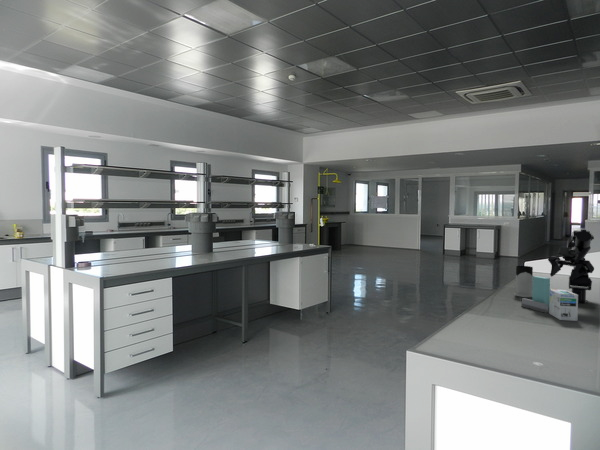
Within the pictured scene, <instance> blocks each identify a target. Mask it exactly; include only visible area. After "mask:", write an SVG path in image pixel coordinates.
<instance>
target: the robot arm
mask: <svg viewBox="0 0 600 450" xmlns="http://www.w3.org/2000/svg"><path fill="white" fill-rule="evenodd" d="M594 236H595V235H593V234H592V232H590V230H586V229H580V230H577V229H576V230H573V231H572V232H571V235H570V236H569V237H568V238H567V246H560V247H559V249H558V252H557V253H558V255H561V256H562V258H561V257H559V256H553V255H551V256H549V257H548V259H547V261H548V262H549V263H550V265H551V270H550V274H549V275H550V277H551V278H552V277H554V276H556V274H558V272H560V271H561V270H562V269H561V268H563V267H564V266H567V267H568V266H569V267H573V268H572V269H571V272H570V276H568V285H567V286H568V289H569V290H570V289H571V292H572V293H574V294H577V295H578V303H580V304H586V303H588V302H589V300H588V299H587V291H592V286H593V285H592V283H593V280H592V279H591V277H589V274H592V273H593V272H594V270H595V267H594V266H593V264H592V263H591V261H590V260H588V259H586V258H585V257H586V255H587V254H588V253H589V252H590V250H591V242H592V241H593V240H594V239H595V237H594Z"/></svg>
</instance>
